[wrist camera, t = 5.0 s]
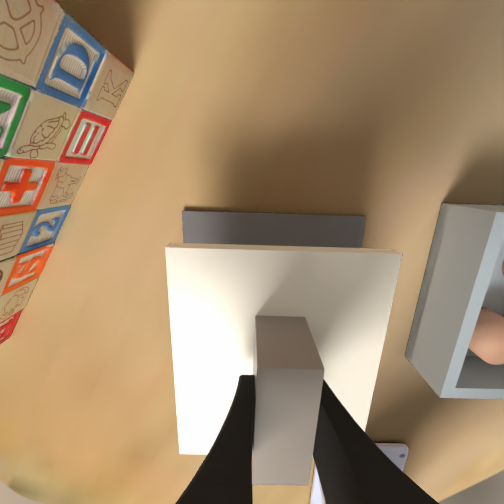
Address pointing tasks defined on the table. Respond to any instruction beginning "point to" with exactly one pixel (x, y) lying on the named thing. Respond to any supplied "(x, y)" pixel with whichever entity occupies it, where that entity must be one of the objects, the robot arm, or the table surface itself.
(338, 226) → the mat
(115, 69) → the stack of blocks
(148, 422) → the table surface
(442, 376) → the box
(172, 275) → the lid
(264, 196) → the table surface
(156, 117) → the table surface
